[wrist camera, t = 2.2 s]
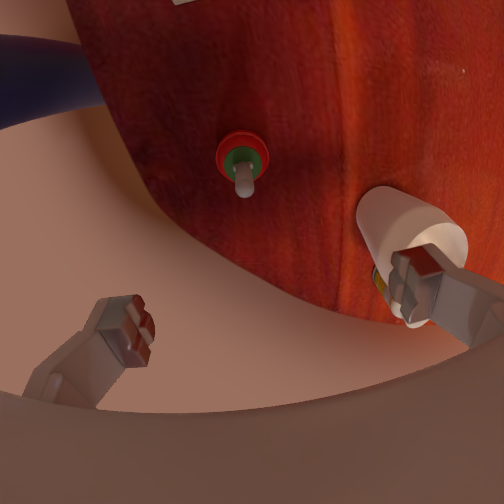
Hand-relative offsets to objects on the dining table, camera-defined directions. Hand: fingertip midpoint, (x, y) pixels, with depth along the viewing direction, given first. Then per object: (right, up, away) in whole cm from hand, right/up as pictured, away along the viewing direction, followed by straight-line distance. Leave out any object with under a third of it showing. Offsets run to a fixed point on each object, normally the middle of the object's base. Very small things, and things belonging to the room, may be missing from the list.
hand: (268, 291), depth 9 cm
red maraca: (-2, +11, +19) cm, 22 cm away
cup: (+15, +6, +23) cm, 28 cm away
